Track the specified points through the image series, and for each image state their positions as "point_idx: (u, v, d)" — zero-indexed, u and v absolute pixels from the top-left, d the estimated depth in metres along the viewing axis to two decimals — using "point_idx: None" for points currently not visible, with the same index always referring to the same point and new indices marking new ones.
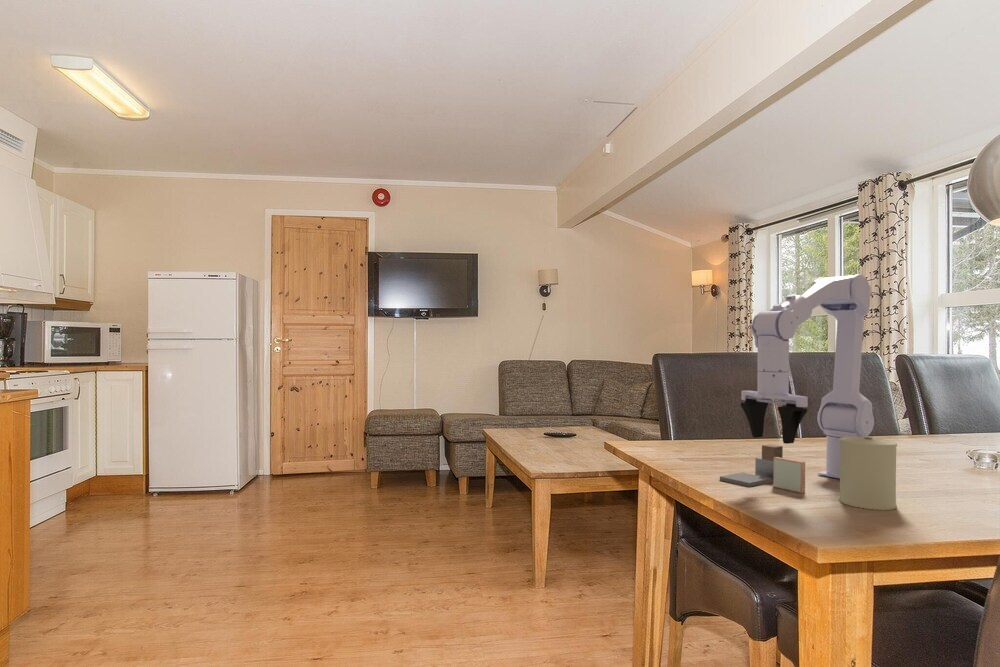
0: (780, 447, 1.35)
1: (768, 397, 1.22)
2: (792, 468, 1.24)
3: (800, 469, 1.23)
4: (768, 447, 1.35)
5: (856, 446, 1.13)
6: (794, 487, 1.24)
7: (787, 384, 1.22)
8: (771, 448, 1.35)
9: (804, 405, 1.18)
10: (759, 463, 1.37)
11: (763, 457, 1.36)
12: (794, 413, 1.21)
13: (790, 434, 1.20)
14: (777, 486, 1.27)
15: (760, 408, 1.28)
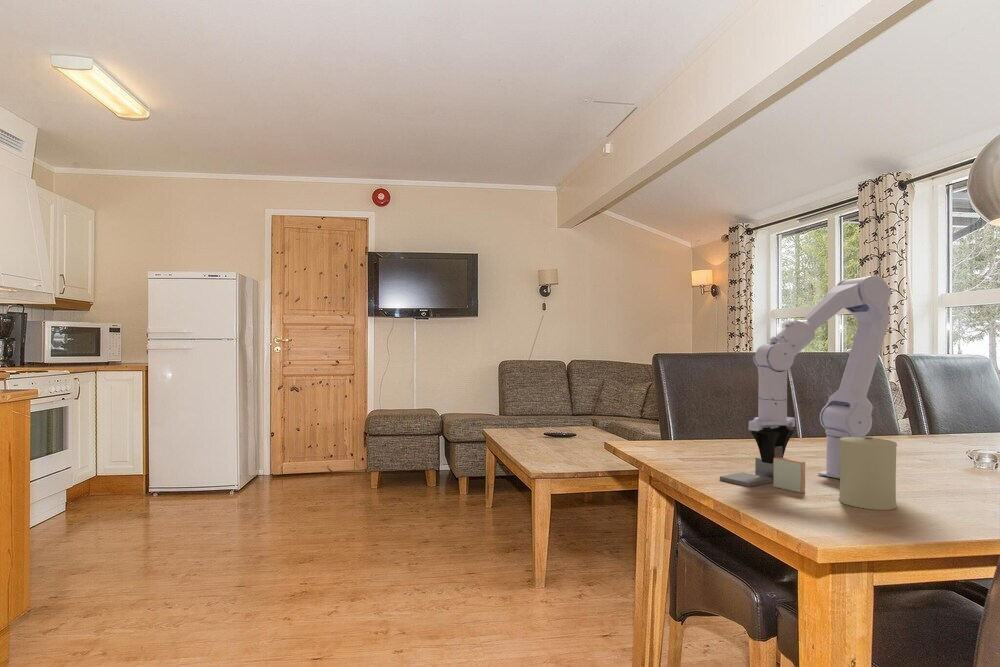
0: (780, 447, 1.35)
1: None
2: (792, 468, 1.24)
3: (800, 469, 1.23)
4: None
5: (856, 446, 1.13)
6: (794, 487, 1.24)
7: (769, 411, 1.34)
8: None
9: (753, 429, 1.32)
10: (759, 463, 1.37)
11: None
12: None
13: (765, 455, 1.35)
14: (777, 486, 1.27)
15: (779, 434, 1.37)
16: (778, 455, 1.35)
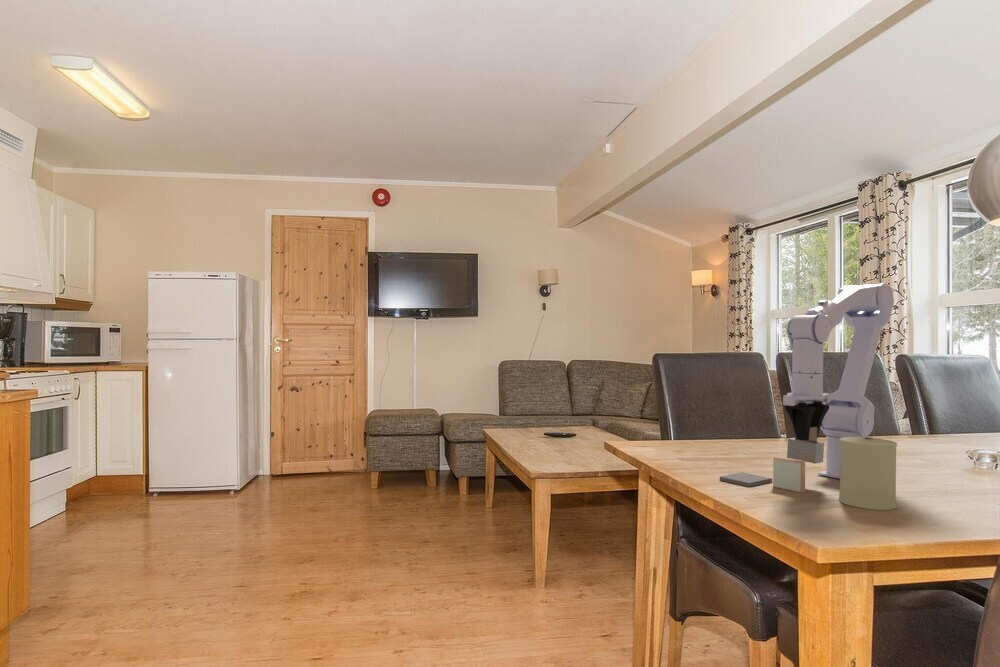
0: (815, 428, 1.29)
1: None
2: (792, 468, 1.24)
3: (800, 469, 1.23)
4: None
5: (856, 446, 1.13)
6: (794, 487, 1.24)
7: (804, 385, 1.27)
8: None
9: (788, 404, 1.25)
10: (792, 444, 1.30)
11: None
12: None
13: (800, 431, 1.28)
14: (777, 486, 1.27)
15: (814, 410, 1.30)
16: (813, 436, 1.28)
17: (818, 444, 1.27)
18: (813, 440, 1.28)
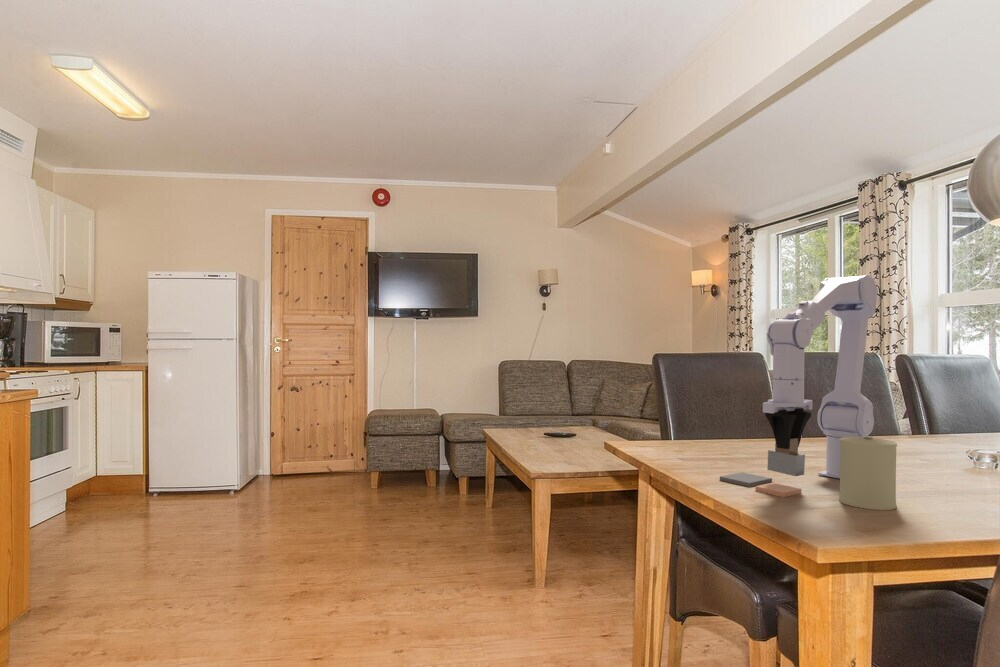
0: (796, 439, 1.25)
1: None
2: None
3: None
4: None
5: (856, 446, 1.13)
6: None
7: (785, 392, 1.23)
8: None
9: (767, 411, 1.21)
10: (772, 456, 1.26)
11: (777, 449, 1.26)
12: None
13: (781, 439, 1.24)
14: None
15: (796, 417, 1.26)
16: (793, 448, 1.24)
17: (799, 456, 1.23)
18: (794, 452, 1.25)
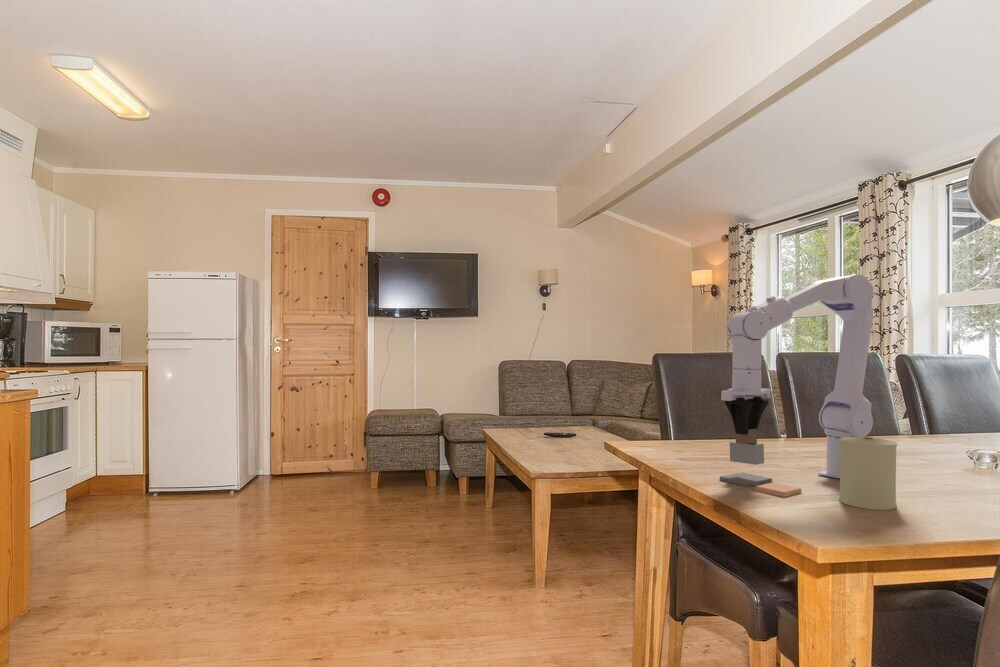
0: (754, 430, 1.32)
1: None
2: None
3: None
4: None
5: (856, 446, 1.13)
6: None
7: (743, 381, 1.30)
8: None
9: (725, 399, 1.28)
10: (734, 447, 1.33)
11: (737, 441, 1.33)
12: None
13: (739, 426, 1.31)
14: None
15: (754, 405, 1.33)
16: (752, 438, 1.31)
17: (757, 445, 1.30)
18: (753, 442, 1.31)
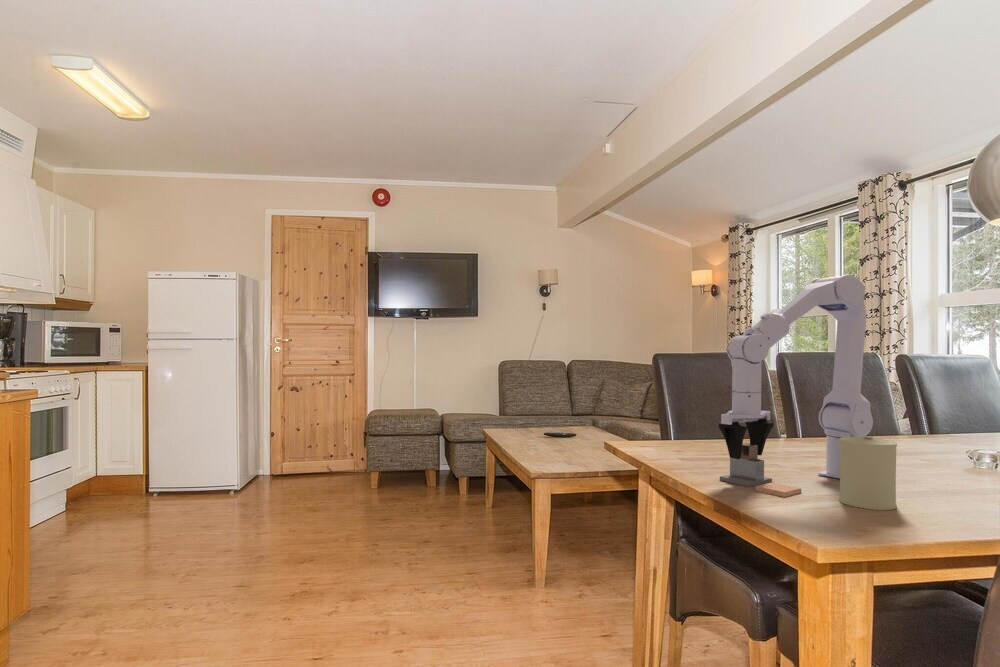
0: (755, 446, 1.31)
1: None
2: None
3: None
4: (743, 446, 1.31)
5: (856, 446, 1.13)
6: None
7: (742, 404, 1.30)
8: (746, 447, 1.31)
9: (725, 422, 1.28)
10: (734, 463, 1.33)
11: None
12: None
13: (733, 450, 1.30)
14: None
15: (759, 427, 1.34)
16: (753, 454, 1.31)
17: (758, 462, 1.29)
18: (753, 458, 1.31)
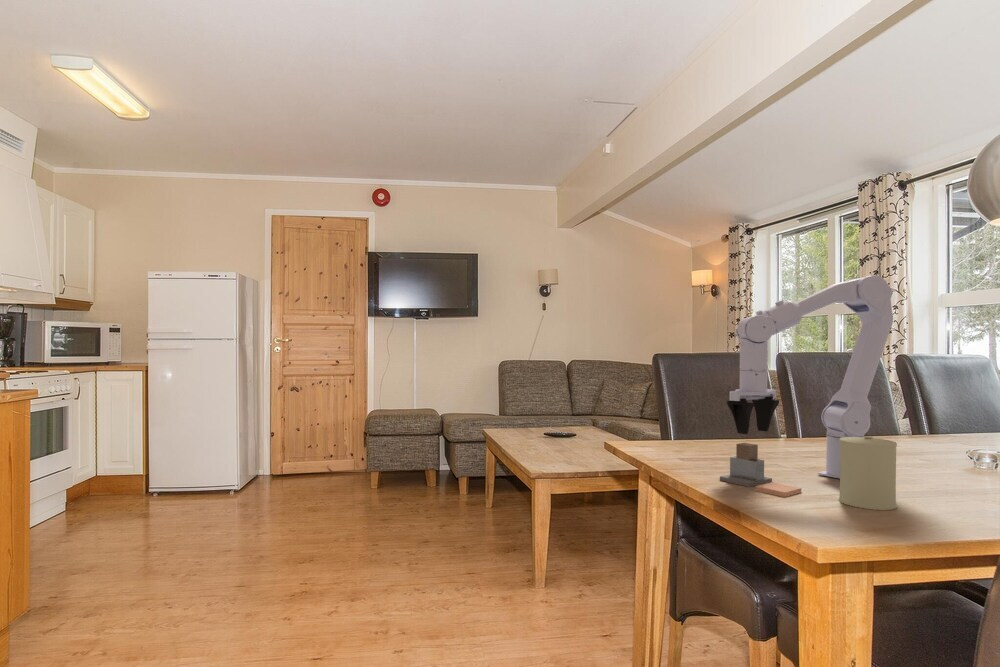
0: (755, 446, 1.31)
1: None
2: None
3: None
4: (743, 446, 1.31)
5: (856, 446, 1.13)
6: None
7: (750, 382, 1.37)
8: (746, 447, 1.31)
9: (733, 399, 1.35)
10: (734, 463, 1.33)
11: (738, 456, 1.32)
12: None
13: (741, 426, 1.37)
14: None
15: (765, 404, 1.41)
16: (753, 454, 1.31)
17: (758, 462, 1.29)
18: (753, 458, 1.31)
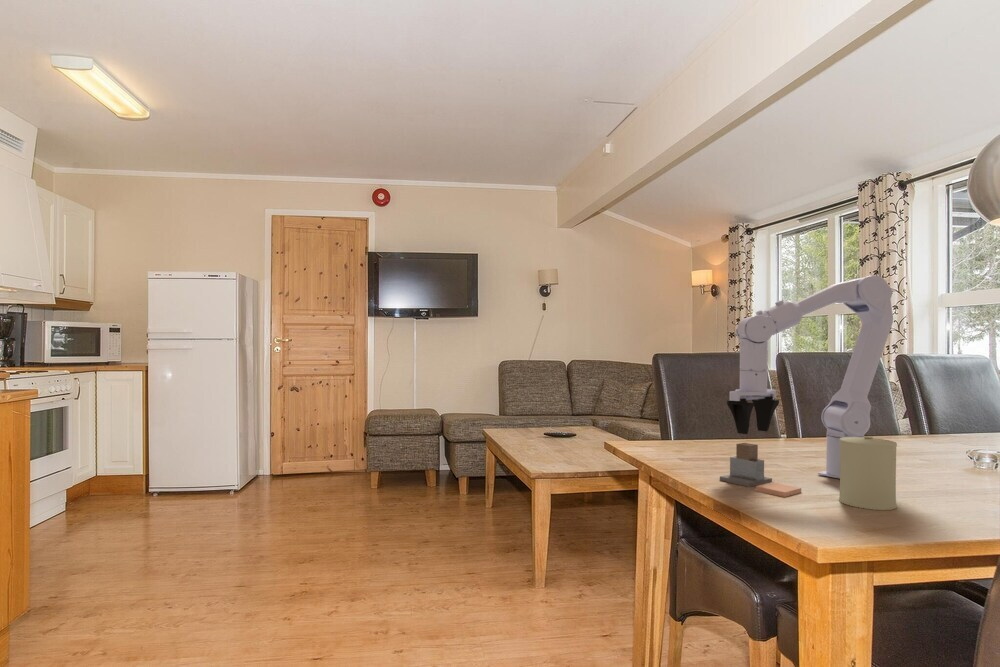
0: (755, 446, 1.31)
1: None
2: None
3: None
4: (743, 446, 1.31)
5: (856, 446, 1.13)
6: None
7: (750, 382, 1.37)
8: (746, 447, 1.31)
9: (733, 399, 1.35)
10: (734, 463, 1.33)
11: (738, 456, 1.32)
12: None
13: (741, 426, 1.37)
14: None
15: (765, 404, 1.41)
16: (753, 454, 1.31)
17: (758, 462, 1.29)
18: (753, 458, 1.31)
